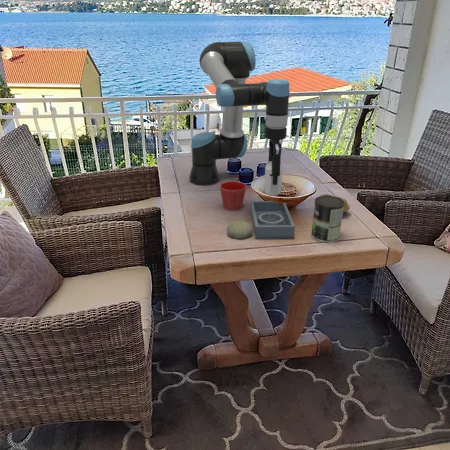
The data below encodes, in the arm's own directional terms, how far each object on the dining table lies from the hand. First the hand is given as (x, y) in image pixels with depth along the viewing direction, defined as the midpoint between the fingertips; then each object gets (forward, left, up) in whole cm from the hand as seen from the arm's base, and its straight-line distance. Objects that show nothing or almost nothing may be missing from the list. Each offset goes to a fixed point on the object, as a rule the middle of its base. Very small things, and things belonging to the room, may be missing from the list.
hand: (272, 189), depth 151 cm
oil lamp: (-12, +27, -15) cm, 33 cm away
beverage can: (0, 0, -2) cm, 2 cm away
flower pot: (-18, -14, -15) cm, 28 cm away
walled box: (0, 0, -15) cm, 15 cm away
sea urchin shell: (+8, -13, -15) cm, 21 cm away
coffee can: (+10, +19, -15) cm, 26 cm away
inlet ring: (0, 0, -15) cm, 15 cm away
